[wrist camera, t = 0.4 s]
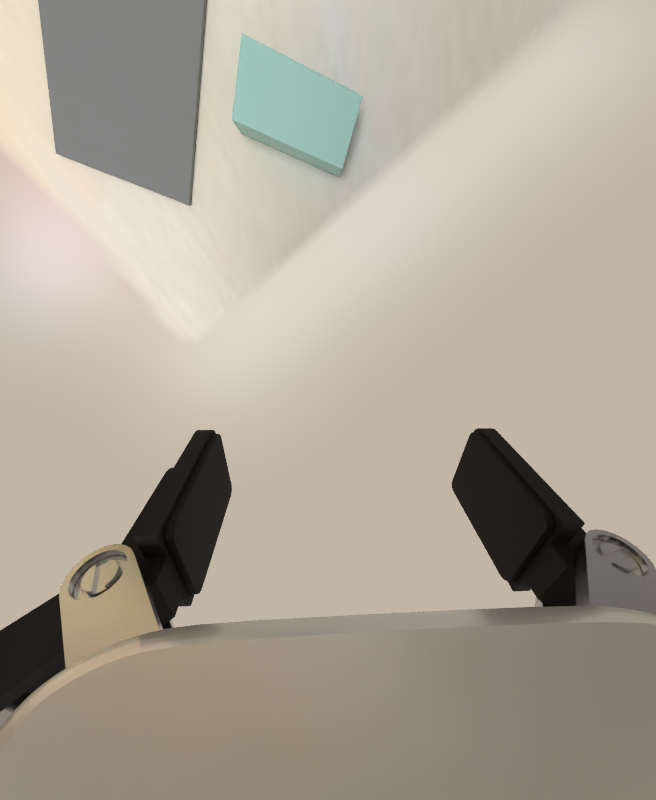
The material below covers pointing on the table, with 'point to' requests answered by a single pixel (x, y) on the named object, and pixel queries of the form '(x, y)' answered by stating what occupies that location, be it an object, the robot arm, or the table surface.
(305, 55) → the table surface
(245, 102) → the teal block
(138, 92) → the mat
